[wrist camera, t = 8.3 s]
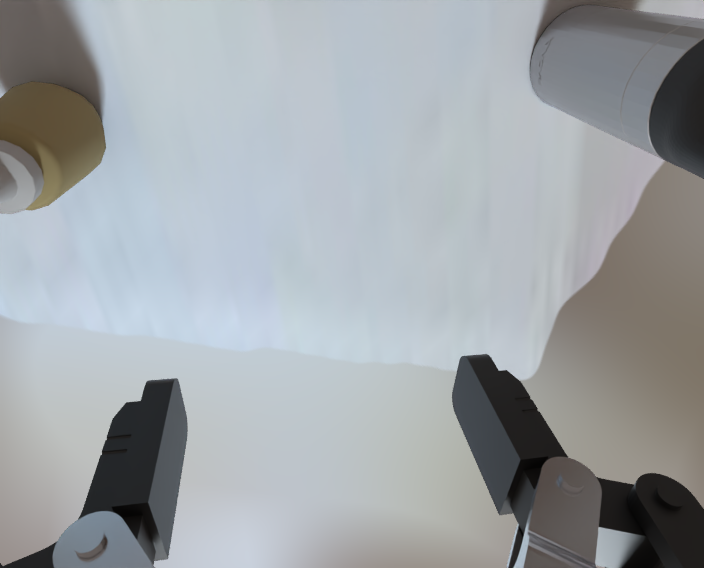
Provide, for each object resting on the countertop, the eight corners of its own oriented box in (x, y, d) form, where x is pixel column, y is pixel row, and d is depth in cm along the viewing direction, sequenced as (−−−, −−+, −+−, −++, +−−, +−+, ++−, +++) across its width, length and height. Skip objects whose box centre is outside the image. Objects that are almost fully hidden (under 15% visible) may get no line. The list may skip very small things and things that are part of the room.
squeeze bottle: (39, 50, 39) (-91, 103, 24) (133, 115, 43) (70, 195, 28) (-2, 127, 41) (-143, 217, 27) (89, 181, 45) (11, 286, 31)
